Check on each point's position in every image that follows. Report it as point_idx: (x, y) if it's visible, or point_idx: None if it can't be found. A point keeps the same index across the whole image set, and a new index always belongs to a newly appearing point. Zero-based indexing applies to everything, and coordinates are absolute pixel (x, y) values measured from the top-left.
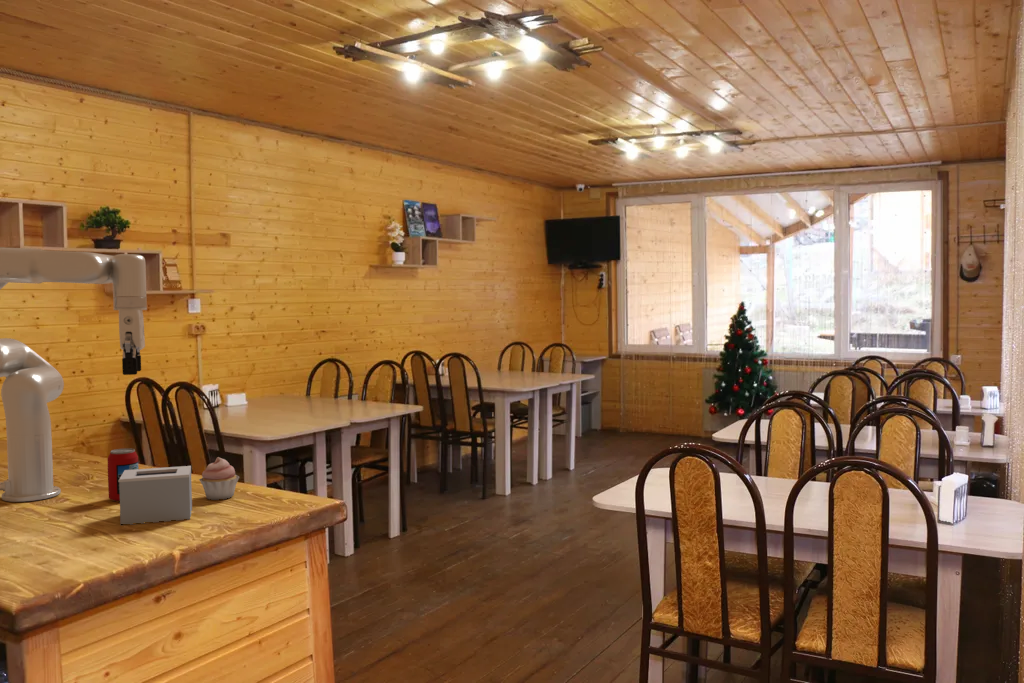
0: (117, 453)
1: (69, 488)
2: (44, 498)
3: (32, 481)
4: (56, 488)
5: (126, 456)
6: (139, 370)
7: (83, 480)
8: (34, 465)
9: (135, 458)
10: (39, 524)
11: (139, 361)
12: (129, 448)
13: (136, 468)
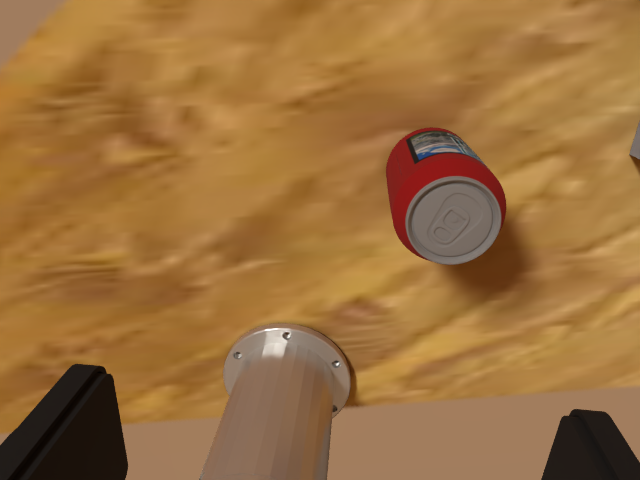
0: (493, 238)
1: (223, 306)
2: (339, 350)
3: (331, 401)
4: (271, 337)
5: (502, 202)
6: (112, 378)
7: (128, 282)
8: (325, 430)
9: (483, 166)
10: (607, 338)
11: (40, 473)
12: (417, 199)
13: (470, 153)
